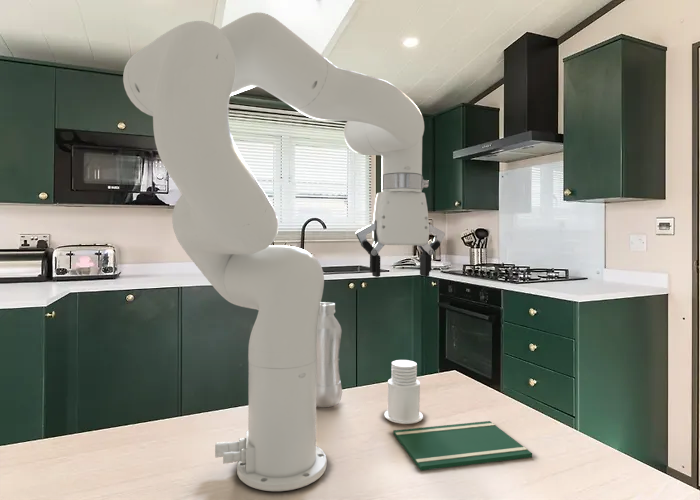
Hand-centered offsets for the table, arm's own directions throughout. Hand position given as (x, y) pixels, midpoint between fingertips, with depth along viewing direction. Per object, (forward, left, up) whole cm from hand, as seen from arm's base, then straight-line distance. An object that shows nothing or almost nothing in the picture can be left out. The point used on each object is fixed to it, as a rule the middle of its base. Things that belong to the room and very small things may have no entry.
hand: (400, 276), depth 84 cm
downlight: (0, -4, -26) cm, 26 cm away
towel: (+5, -16, -26) cm, 30 cm away
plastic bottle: (-13, +5, -26) cm, 30 cm away
